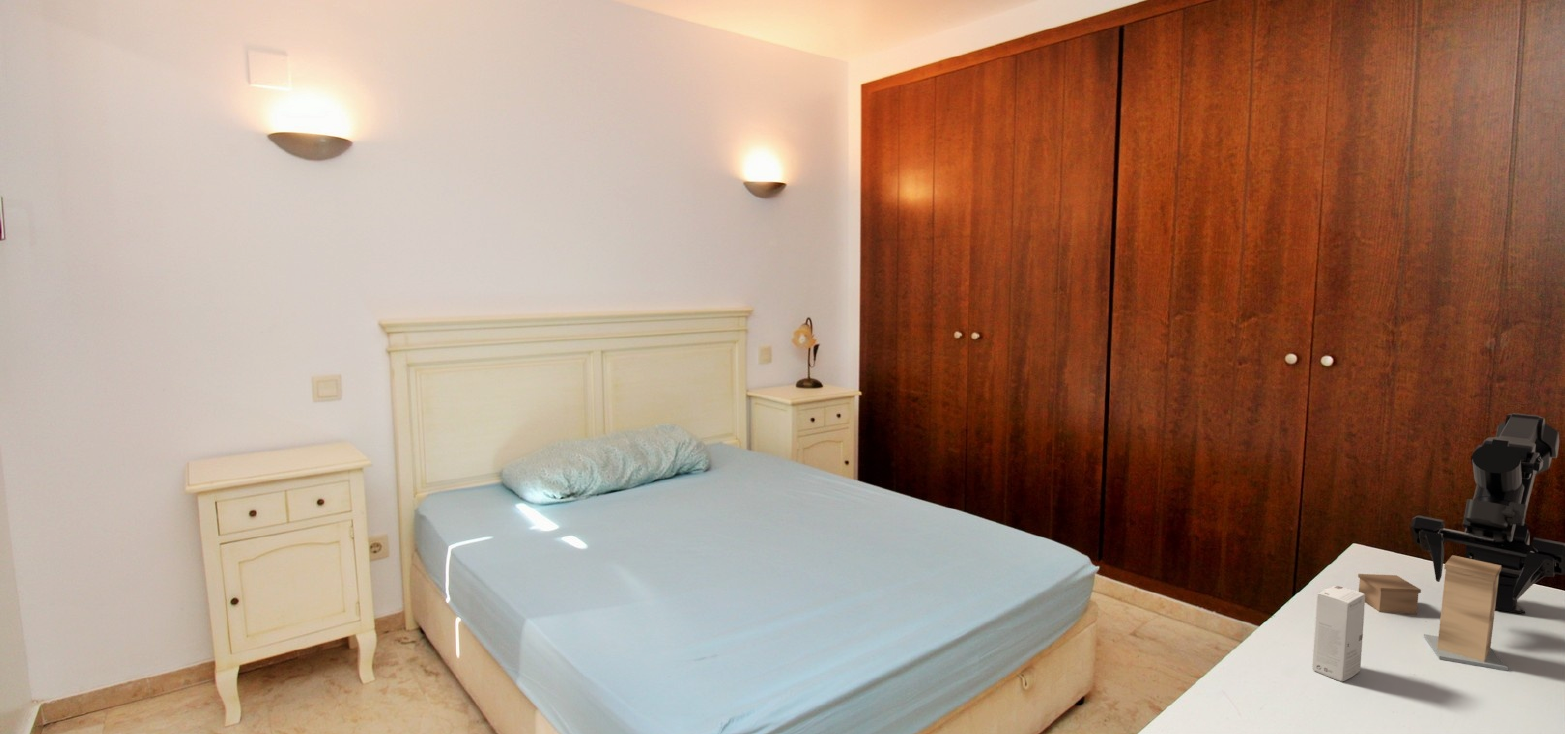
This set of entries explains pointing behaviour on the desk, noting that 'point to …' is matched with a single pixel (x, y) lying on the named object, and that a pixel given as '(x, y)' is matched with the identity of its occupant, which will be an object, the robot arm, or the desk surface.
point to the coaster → (1489, 662)
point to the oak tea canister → (1468, 607)
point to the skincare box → (1338, 632)
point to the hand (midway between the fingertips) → (1474, 589)
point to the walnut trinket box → (1389, 593)
